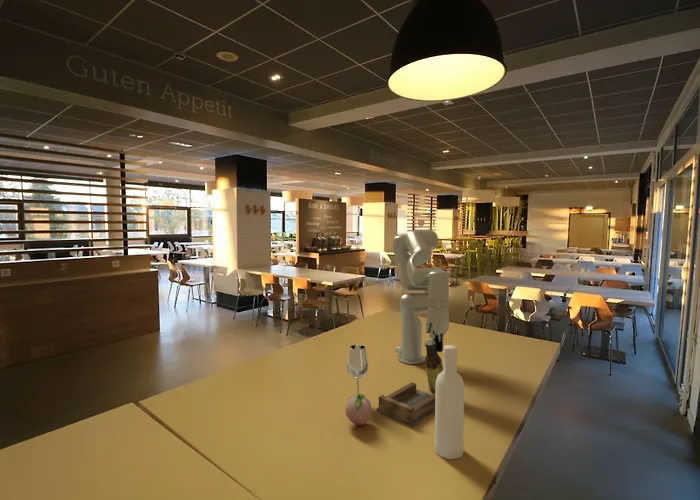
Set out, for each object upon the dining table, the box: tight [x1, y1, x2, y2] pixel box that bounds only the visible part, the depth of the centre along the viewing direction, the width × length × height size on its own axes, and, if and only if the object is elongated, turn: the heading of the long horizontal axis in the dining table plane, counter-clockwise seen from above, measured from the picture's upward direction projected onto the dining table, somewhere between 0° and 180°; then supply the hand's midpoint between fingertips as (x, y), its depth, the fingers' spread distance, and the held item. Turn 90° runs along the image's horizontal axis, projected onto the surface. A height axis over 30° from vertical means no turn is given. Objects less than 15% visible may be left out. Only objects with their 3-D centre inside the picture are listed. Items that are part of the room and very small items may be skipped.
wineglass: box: [346, 344, 370, 402], centre depth 135 cm, size 8×8×20 cm
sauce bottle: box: [424, 339, 443, 394], centre depth 141 cm, size 6×6×20 cm
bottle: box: [434, 344, 465, 460], centre depth 104 cm, size 8×8×30 cm
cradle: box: [375, 382, 435, 428], centre depth 131 cm, size 15×22×5 cm
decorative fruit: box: [344, 392, 372, 426], centre depth 119 cm, size 9×8×10 cm
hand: (438, 350), depth 142 cm, fingers closed
